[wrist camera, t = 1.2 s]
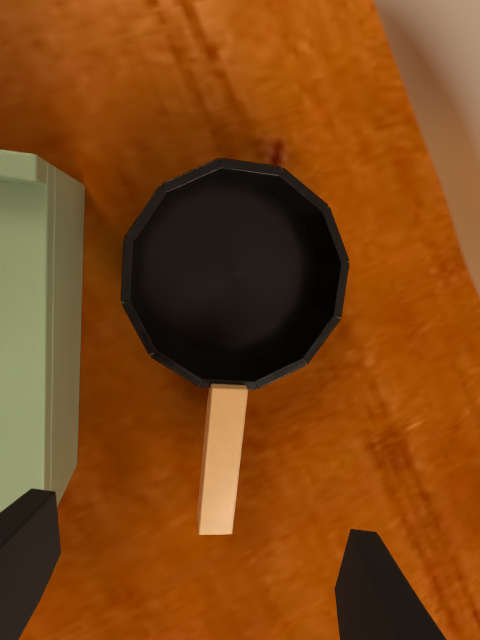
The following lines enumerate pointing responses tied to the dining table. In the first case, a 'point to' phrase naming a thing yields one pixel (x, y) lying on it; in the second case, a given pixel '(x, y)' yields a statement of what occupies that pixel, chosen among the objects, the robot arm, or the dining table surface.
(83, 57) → the dining table surface
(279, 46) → the dining table surface
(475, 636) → the dining table surface
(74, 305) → the shelf
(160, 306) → the pan
